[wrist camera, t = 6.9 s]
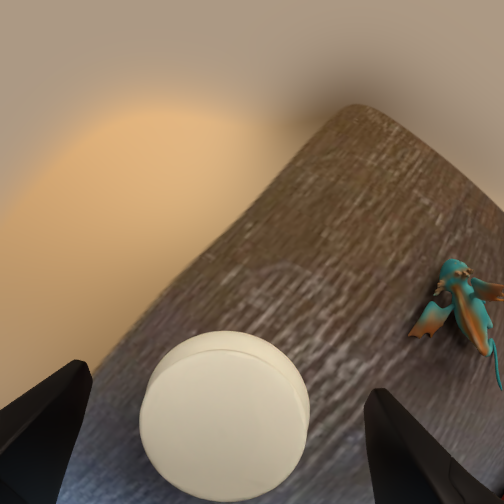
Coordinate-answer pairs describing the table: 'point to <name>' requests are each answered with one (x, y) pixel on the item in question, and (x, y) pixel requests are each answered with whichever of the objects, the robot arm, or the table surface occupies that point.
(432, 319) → the dragon figurine
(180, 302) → the table surface
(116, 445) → the table surface
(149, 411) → the pill bottle
